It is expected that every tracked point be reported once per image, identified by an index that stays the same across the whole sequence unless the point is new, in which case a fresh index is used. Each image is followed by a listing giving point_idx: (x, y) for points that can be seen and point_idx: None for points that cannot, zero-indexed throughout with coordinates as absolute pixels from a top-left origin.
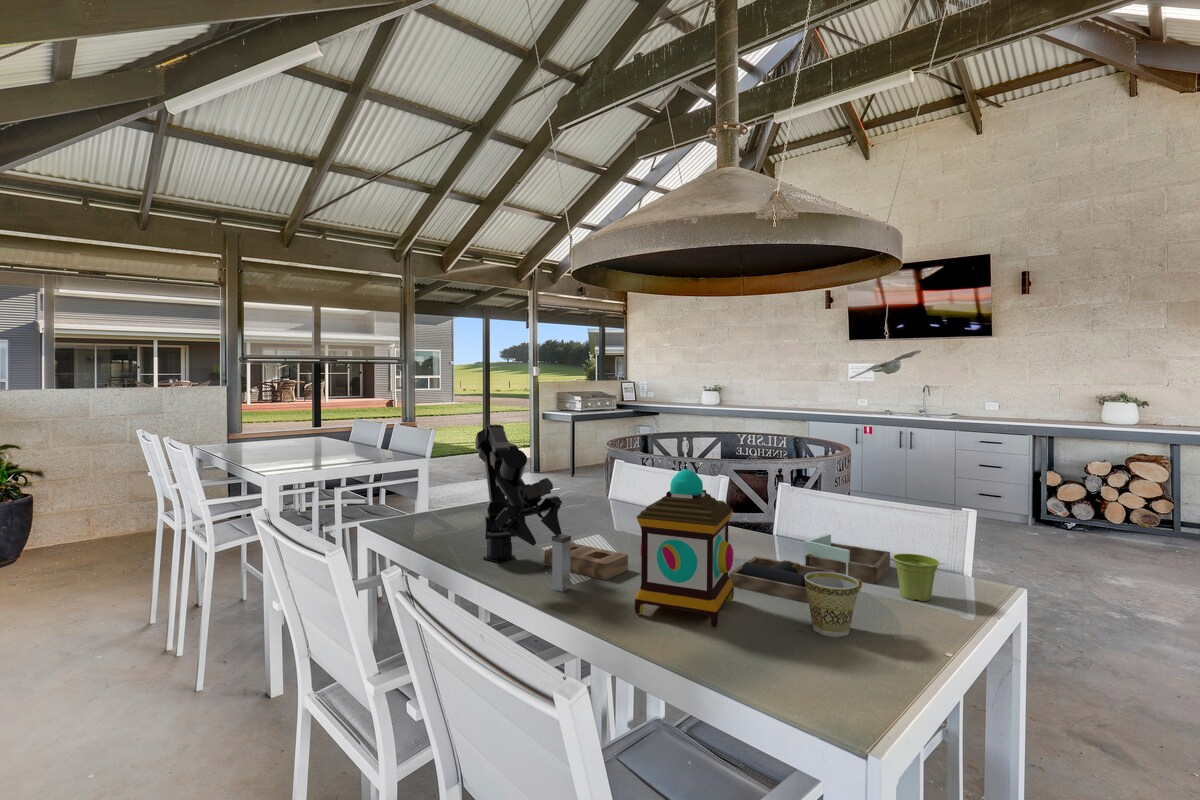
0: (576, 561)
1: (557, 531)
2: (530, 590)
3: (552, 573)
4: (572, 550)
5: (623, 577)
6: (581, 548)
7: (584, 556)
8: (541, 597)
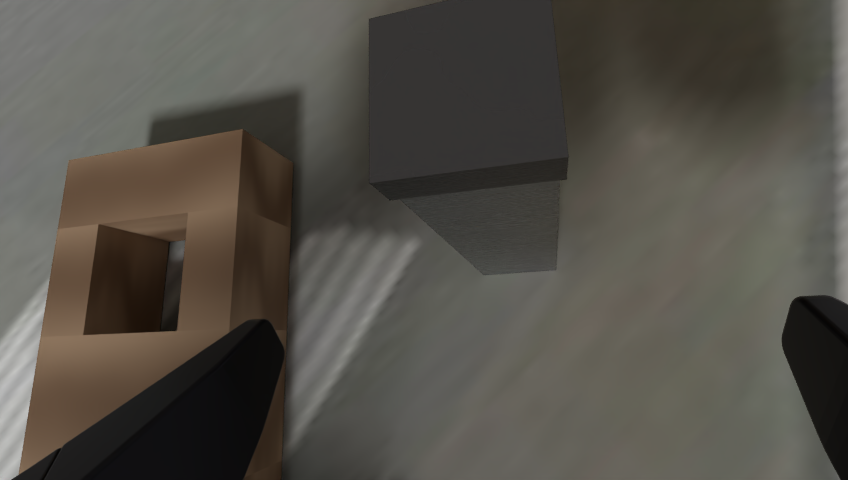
0: None
1: (238, 382)
2: (665, 358)
3: (556, 252)
4: None
5: None
6: None
7: (190, 319)
8: (697, 223)
